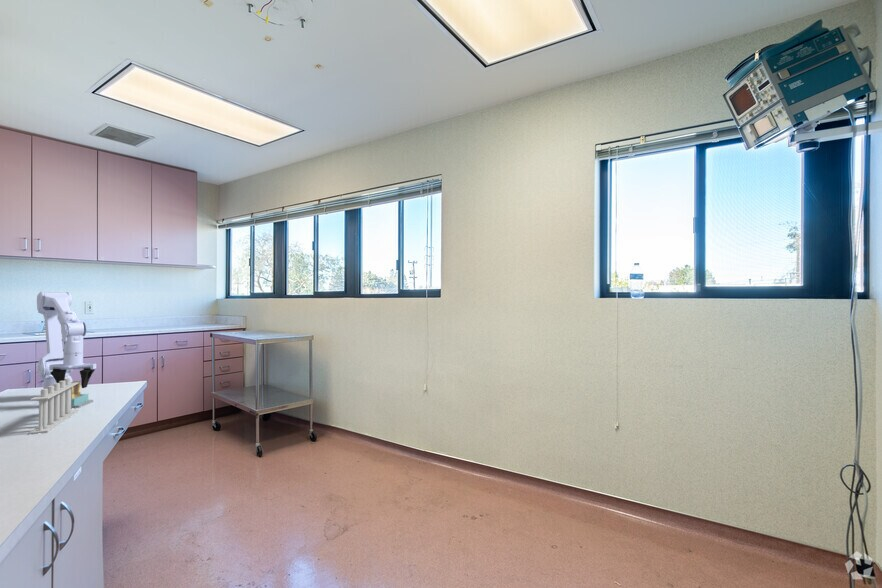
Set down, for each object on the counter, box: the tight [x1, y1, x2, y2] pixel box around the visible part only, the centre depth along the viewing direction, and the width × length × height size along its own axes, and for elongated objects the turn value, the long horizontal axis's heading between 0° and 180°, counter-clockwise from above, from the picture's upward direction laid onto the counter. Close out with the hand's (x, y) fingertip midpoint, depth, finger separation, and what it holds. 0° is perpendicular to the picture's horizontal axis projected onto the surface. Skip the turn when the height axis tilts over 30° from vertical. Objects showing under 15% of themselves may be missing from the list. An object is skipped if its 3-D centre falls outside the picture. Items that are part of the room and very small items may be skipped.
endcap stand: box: [71, 393, 94, 409], centre depth 158 cm, size 9×9×3 cm
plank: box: [71, 380, 82, 399], centre depth 158 cm, size 5×2×8 cm, turn 13°
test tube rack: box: [28, 378, 80, 435], centre depth 137 cm, size 25×4×13 cm, turn 25°
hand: (72, 387), depth 158 cm, fingers open, 7 cm apart
